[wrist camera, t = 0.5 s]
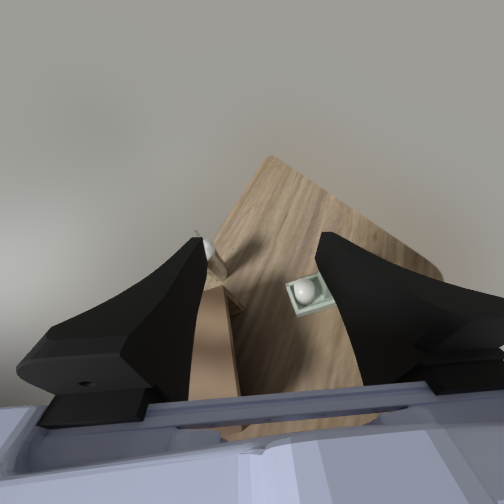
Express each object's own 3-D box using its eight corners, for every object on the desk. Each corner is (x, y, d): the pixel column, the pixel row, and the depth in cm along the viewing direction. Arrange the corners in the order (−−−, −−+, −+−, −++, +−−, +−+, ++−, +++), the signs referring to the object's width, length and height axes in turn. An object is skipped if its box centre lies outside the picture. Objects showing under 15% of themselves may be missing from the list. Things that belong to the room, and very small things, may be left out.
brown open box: (263, 413, 22) (242, 431, 15) (182, 435, 23) (125, 462, 16) (242, 305, 30) (222, 285, 23) (183, 324, 31) (147, 310, 24)
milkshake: (230, 258, 37) (208, 226, 29) (233, 281, 34) (209, 251, 26) (210, 264, 37) (183, 234, 29) (210, 287, 34) (181, 260, 26)
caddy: (375, 293, 26) (393, 271, 21) (297, 318, 27) (294, 303, 22) (356, 266, 29) (367, 240, 24) (286, 288, 30) (281, 269, 25)
